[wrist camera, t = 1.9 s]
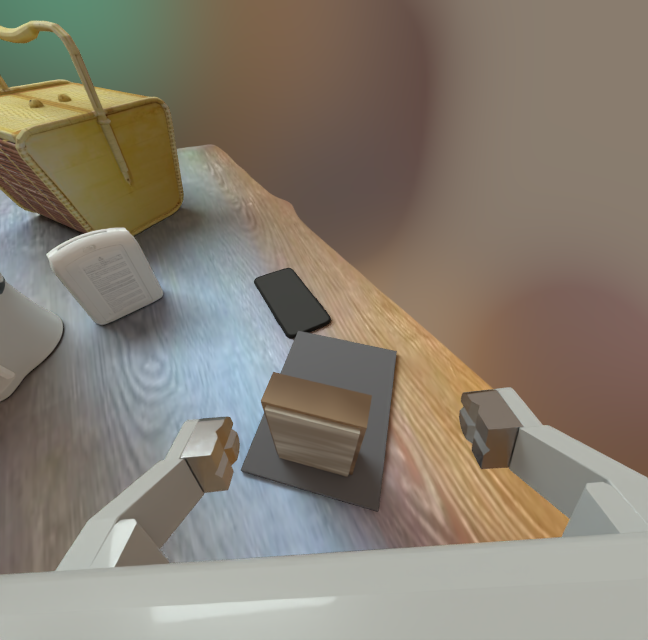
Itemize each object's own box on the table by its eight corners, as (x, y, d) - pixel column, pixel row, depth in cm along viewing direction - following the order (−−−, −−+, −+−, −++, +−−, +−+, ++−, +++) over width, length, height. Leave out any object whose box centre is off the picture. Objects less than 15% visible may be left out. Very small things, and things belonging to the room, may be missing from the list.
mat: (377, 511, 28) (378, 510, 28) (242, 471, 30) (240, 469, 30) (395, 353, 41) (396, 351, 40) (298, 333, 43) (298, 330, 42)
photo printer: (157, 284, 49) (120, 215, 40) (169, 296, 47) (133, 227, 38) (90, 315, 45) (31, 244, 35) (100, 330, 43) (39, 260, 33)
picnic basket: (9, 221, 62) (-166, 16, 39) (119, 176, 77) (38, 10, 55) (99, 264, 53) (-62, 29, 30) (203, 204, 68) (147, 18, 46)
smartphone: (291, 265, 53) (333, 319, 44) (291, 269, 53) (333, 323, 44) (251, 278, 50) (288, 338, 41) (252, 282, 51) (288, 342, 42)
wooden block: (351, 479, 29) (365, 433, 21) (275, 457, 31) (258, 405, 22) (356, 449, 31) (372, 395, 22) (285, 430, 33) (273, 372, 24)
